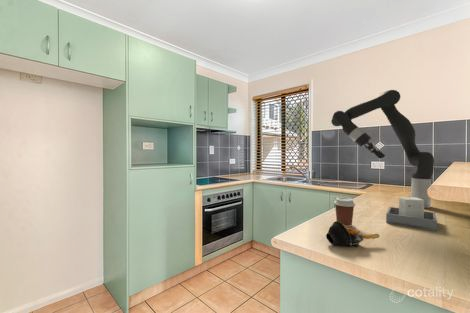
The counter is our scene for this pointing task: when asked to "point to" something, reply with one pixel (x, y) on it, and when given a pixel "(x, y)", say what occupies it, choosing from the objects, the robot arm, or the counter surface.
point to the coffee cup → (344, 211)
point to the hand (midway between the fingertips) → (382, 157)
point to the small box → (411, 207)
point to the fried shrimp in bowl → (346, 235)
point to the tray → (412, 219)
